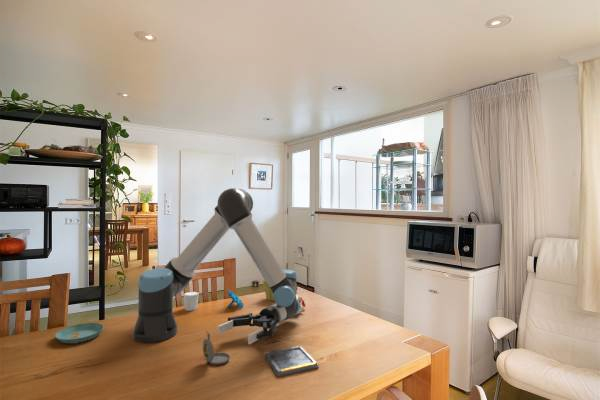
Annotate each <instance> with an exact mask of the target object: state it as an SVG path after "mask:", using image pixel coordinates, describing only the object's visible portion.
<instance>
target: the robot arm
mask: <svg viewBox="0 0 600 400" xmlns="http://www.w3.org/2000/svg"><path fill="white" fill-rule="evenodd" d="M252 197H253V196H251V194H250V193H249V192H248V191H246V190H245V189H241V188H232V187H230V188H228V189H225V190H223V191H222V192H221V194H220V195H219V196H218V199H217V205H216V206H215V207H214V209H213V210H214V214H213V215H212V217H211V218H210V219H209V220H208V221H207V223H205V225H204V226H203V227H202V228H201V230H200V231H199V232H198V233H197V234H196V235H195V237H194V238H193V239H192V240H191V241H190V242H189V243H188V245H186V247H185V248H184V249H183V250H182V252H181V253H180V254H179V256H177V257H173V258H171V259H170V260H169V262H168V263H166V265H165V266H164V267H160V268H159V267H157V268H153V269H148V270H145V271H144V272H142V273H141V274H140V275H139V278H138V283H137V284H138V285H137V288H138V303H137V304H138V305H137V306H138V307H137V309H138V311H137V312H138V313H137V315H138V316H137V319H136V321H135V323H134V327H133V329H132V340H133V341H135V342H138V343H144V344H148V343H149V344H151V343H158V342H162V341H165V340H170V339H171V338H173V337H174V336H176V334H177V333H178V324H177V320H176V318H175V316H174V311H173V298H174V297H175V296H176V295H178V294H180V293H181V292H183V291H184V290H185V289H186V288H187V287H188V285H189V284H190V282H191V280H192V279H193V278H194V277H195V273H196V272H195V271H196V269H197V268H198V266H199V265H200V264H201V263H202V262H203V260H204V259H206V257H207V256H208V254H210V253H211V251H212V250H213V249H214V248H215V246H217V244H218V243H219V242H220V241H221V239H222V238H223V237H224V236H225V235H226V234H227V233H228V232H229V230H230V229H231V230H234V233H235V234H236V235H237V237H238V239H239V240H240V242H241V244H242V245H243V246H244V248H245V250H246V251H247V253H248V255H249V256H250V259H251V260H252V262H253V263H254V264H255V267H256V268H257V270H258V271H259V273H260V274H261V277H262V278H263V280H264V279H265V281H266V283H267V284H268V286H269V288H270V289H271V291H272V293H273V294H274V301H273V302H275V303H274V304H271V305H269V306H267V307H264V308H263V309H261V310H260V312H259V313H258V314H256V315H253V313H252V312H249V313H247V314H240V315H236V316H230V317H227V321H226V322H224V323H221V324H219V325H217V334H218V335H221V334H223V333H225V332H228V331H230V330H232V329H234V327H246V326H249V327H258V328H260V329H257V330H256V331H253V332H251V333H250V334H248V335H247V344H248V345H252V344H253V343H255V342H256V341H259V340H261V339H262V338H269V339H271V338H273V336H274V334H275V332H276V330H277V329H279V324H282V323H283V322H285V321H287V320H289V319H292V318H293V317H295V316H296V315H298V313H299V311H301V310H300V309H301V306H302V304H301V303H300V301H299V300H298V299H297V298H296V286H297V272H296V271H295V270H292V269H283V268H282V267H281V265H280V263H279V262H278V260H277V258H276V257H275V255H274V253H273V252H272V250H271V248H270V247H269V245H268V243H267V242H266V241H265V239H264V237H263V236H262V235H263V234H262V233H261V232H260V230H259V228H258V227H257V225H256V223H255V222H254V221H253V213H252V211H253V208H254V200H253V198H252ZM299 314H300V313H299ZM268 329H269V330H268Z"/></svg>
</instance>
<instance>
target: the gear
mask: <svg viewBox="0 0 600 400" xmlns="http://www.w3.org/2000/svg"><path fill="white" fill-rule="evenodd" d="M227 295H228V296H229V298H230V299H231V301H230V303H228V305H227V308H230V307H231V306H232V305H233V304H234V303H235V304H236V306H239V308H243V307H245V306H244V303H243V301H242V299H240V297H239V296H238V295H237V294H236V293H235V292H233V291H231V290H228V291H227Z"/></svg>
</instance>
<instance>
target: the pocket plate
mask: <svg viewBox="0 0 600 400" xmlns="http://www.w3.org/2000/svg"><path fill="white" fill-rule="evenodd" d="M263 357H264V359H265V360H266V362H267V364H268V365H269V367H270V368H271V369H272V370H273V372H274V373H275V375H276V377H277V378H279V377H283V376H284V377H285V376H288V375H293V374H297V373H302V372H306V371H311V370H314V369H318V368H319V363H318V362H317V361H316V360H315V359H314V358H313V357H312V356H311V355H310V354H309V353H308V351H306V350H305V348H303V347H302V346H301V345H299V346H293V347H288V348H283V349H277V350H272V351H267V352H265V353H263Z"/></svg>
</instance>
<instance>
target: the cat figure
mask: <svg viewBox="0 0 600 400" xmlns="http://www.w3.org/2000/svg"><path fill="white" fill-rule="evenodd" d="M296 298H297V299H298V300H299V302H300V301H301V309H300V311H299V313H298V314H302V312H303V311H305V309H306V308H305V307H306V303H305V300H304V299H303V297H302V296H301V294H298V285H296ZM298 314H297V315H298Z"/></svg>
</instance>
